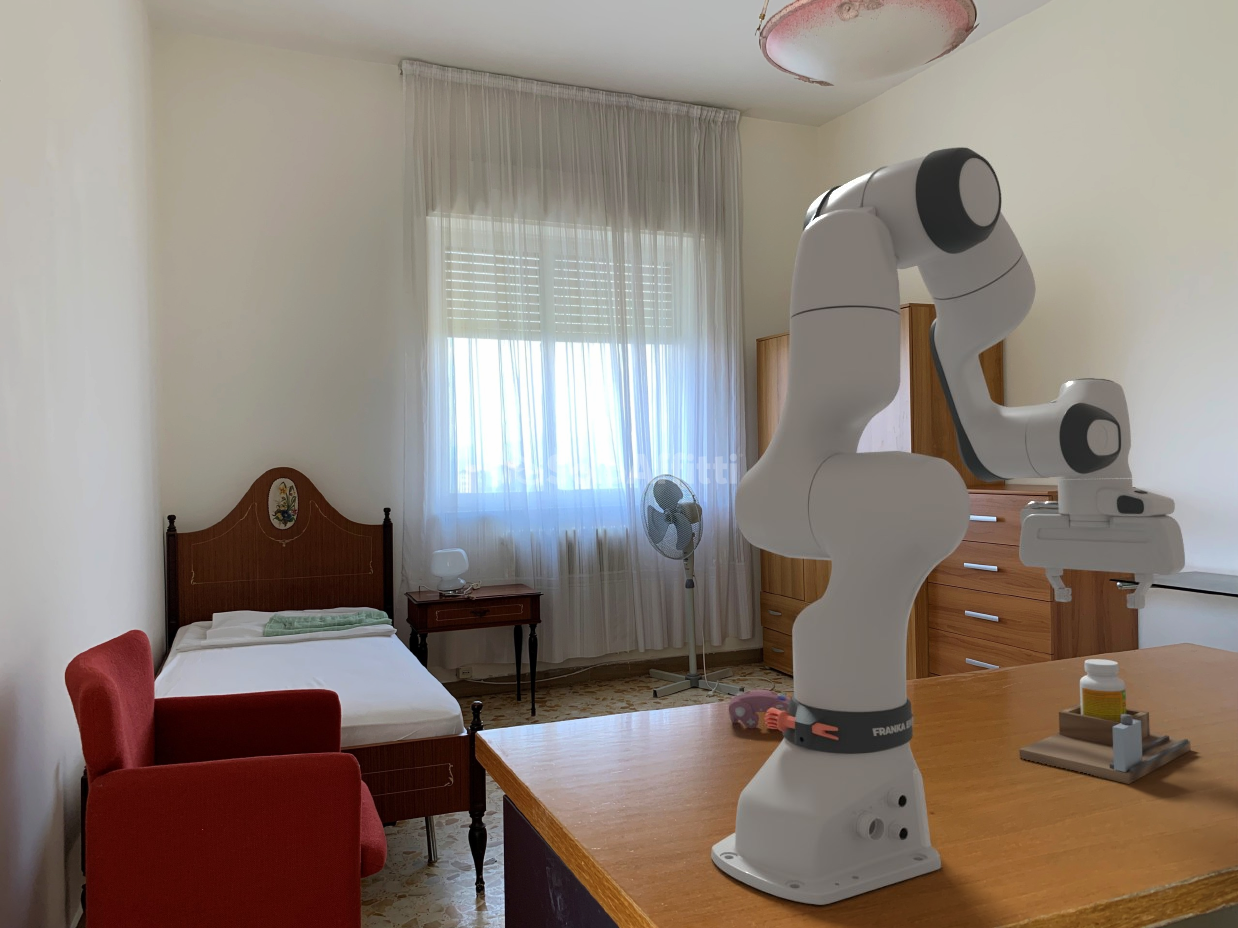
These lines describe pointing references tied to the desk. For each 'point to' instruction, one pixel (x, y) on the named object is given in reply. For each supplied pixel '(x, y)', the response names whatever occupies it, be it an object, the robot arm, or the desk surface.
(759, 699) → the video game controller
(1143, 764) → the board
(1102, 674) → the supplement bottle
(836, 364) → the robot arm
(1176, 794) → the desk surface
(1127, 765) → the cover panel
